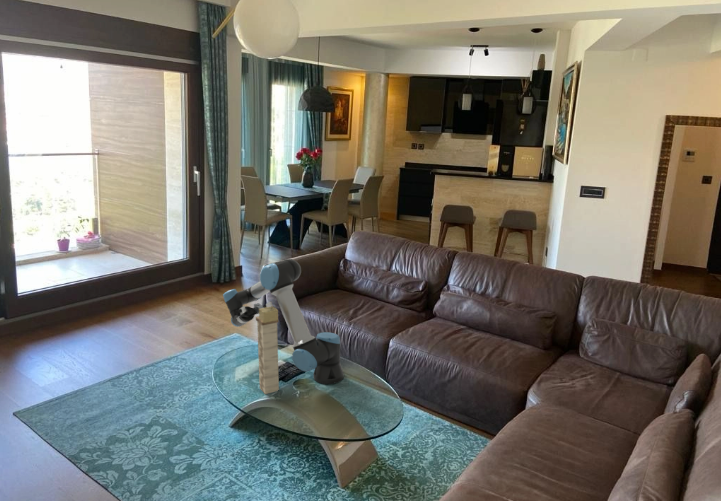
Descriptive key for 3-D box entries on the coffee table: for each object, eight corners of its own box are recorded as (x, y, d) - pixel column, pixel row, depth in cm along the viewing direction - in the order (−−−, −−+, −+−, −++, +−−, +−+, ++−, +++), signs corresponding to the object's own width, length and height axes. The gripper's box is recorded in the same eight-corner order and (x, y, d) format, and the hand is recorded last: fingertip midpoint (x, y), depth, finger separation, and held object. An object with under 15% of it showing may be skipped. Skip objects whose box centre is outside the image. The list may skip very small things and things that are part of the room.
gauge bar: (249, 310, 263) (249, 300, 262) (263, 308, 267) (263, 298, 265) (263, 322, 248) (263, 312, 247) (278, 320, 252) (277, 309, 250)
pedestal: (258, 387, 264) (255, 316, 255) (273, 383, 268) (271, 313, 259) (264, 394, 258) (261, 322, 249) (280, 390, 262) (278, 319, 253)
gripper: (269, 317, 285) (283, 309, 267) (223, 326, 272) (234, 318, 255) (266, 303, 287) (280, 294, 269) (220, 312, 274) (231, 303, 256)
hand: (258, 306), depth 262 cm, fingers open, 13 cm apart
